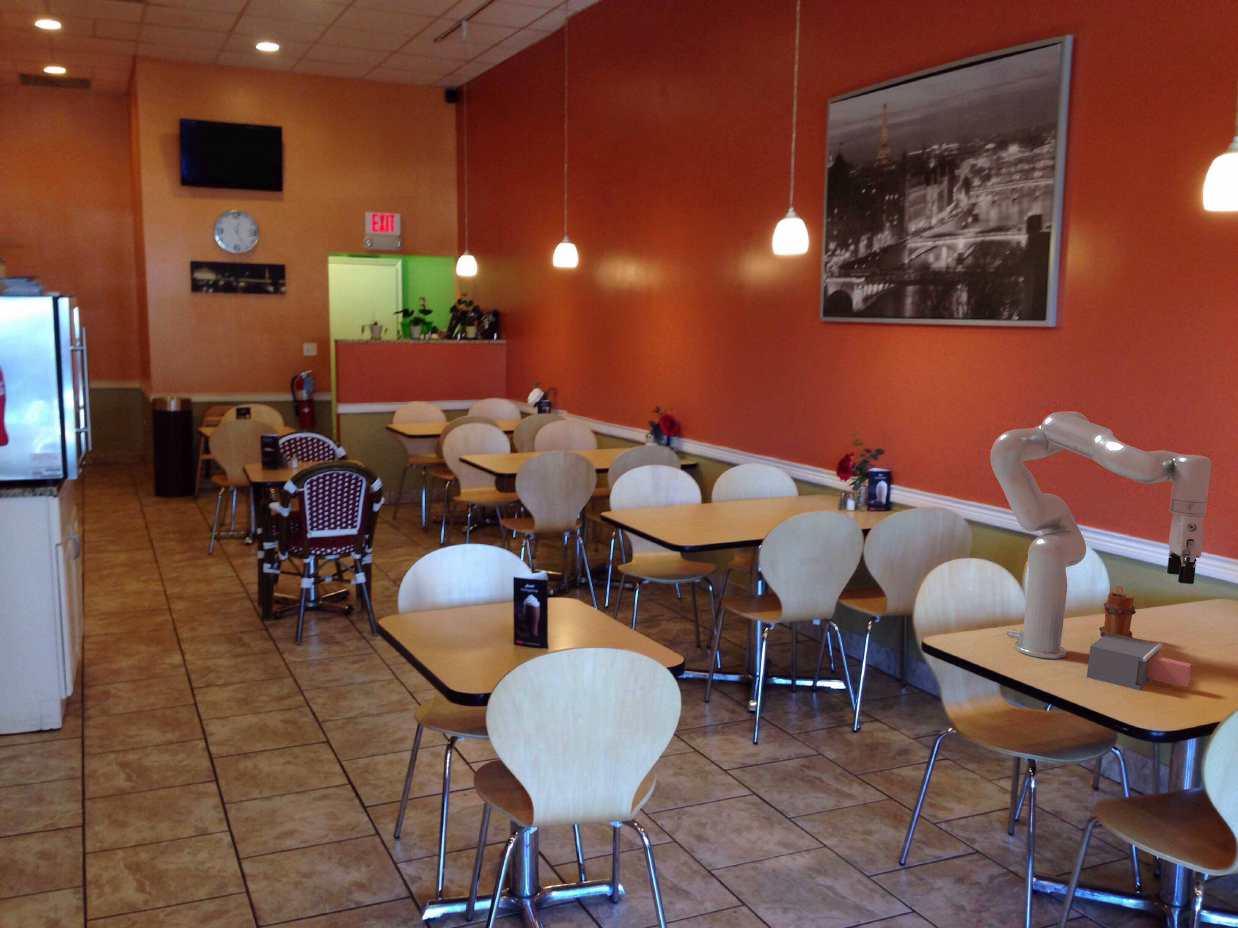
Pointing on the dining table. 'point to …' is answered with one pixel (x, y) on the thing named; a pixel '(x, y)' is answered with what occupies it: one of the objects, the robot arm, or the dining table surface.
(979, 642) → the dining table surface
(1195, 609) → the dining table surface
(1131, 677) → the dispenser
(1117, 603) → the brown wooden cylinder bundle
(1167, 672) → the long pink plank
